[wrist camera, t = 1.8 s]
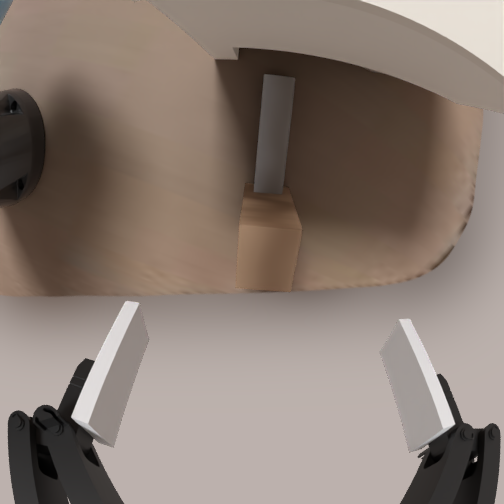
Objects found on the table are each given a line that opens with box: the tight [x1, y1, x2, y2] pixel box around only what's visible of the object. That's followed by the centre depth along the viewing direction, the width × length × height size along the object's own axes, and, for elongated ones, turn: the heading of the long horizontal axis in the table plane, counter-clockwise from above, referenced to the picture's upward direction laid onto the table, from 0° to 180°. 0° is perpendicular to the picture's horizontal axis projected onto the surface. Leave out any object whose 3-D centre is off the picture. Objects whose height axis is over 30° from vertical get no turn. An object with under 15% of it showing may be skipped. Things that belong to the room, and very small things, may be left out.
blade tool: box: [235, 74, 303, 292], centre depth 19 cm, size 4×15×9 cm, turn 176°
